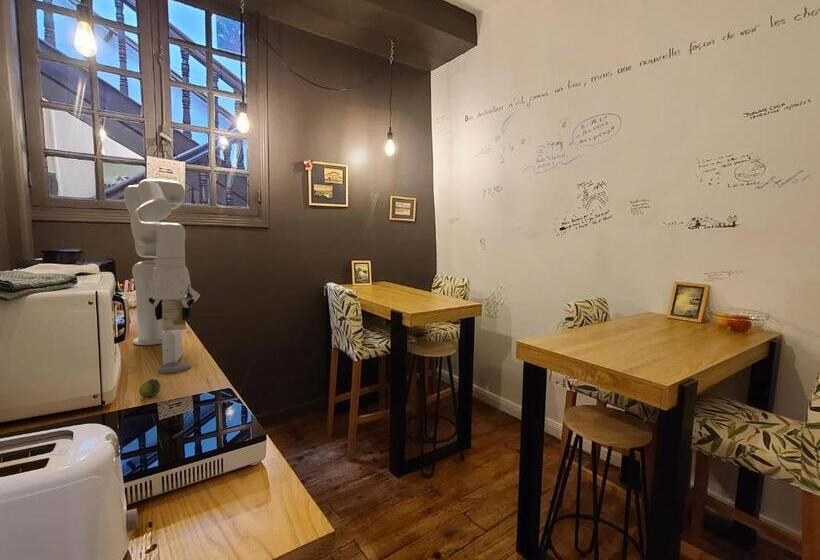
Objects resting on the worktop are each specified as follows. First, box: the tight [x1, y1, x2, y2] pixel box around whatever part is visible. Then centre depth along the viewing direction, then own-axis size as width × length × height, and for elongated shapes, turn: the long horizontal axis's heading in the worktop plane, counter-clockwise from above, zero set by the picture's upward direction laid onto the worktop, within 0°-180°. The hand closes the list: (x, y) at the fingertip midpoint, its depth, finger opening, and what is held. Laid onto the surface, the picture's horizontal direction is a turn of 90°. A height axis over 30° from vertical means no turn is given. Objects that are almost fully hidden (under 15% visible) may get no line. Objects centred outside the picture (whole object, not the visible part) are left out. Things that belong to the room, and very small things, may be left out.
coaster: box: [157, 361, 192, 375], centre depth 128 cm, size 9×9×1 cm
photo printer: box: [161, 330, 183, 365], centre depth 136 cm, size 10×4×12 cm, turn 17°
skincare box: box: [162, 299, 187, 331], centre depth 127 cm, size 6×4×12 cm
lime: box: [138, 378, 161, 399], centre depth 107 cm, size 4×5×5 cm
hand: (173, 318), depth 127 cm, fingers closed on skincare box, 7 cm apart
